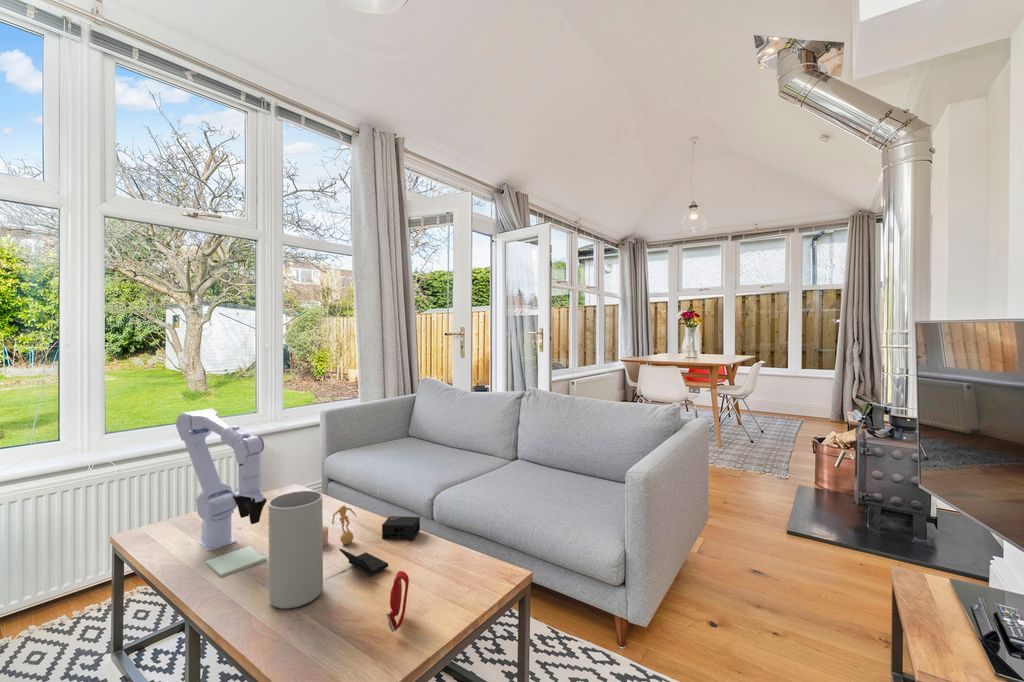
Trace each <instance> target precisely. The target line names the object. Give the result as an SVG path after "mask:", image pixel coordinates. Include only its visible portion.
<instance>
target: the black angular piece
mask: <svg viewBox="0 0 1024 682" xmlns="http://www.w3.org/2000/svg"><path fill="white" fill-rule="evenodd" d="M338 551H340V552H341V553H342V555H344V557H346V559H347V560H348V564H350V565H352V566H353V567H356V568H358V569H360V570H362V571H363V572H365V573H367V574H368V575H370V576H373V575H375V574H376V573H379V572H380V571H382V570H384V569H386V568H388V567H389V563H388V562H386V561H384V560H382V559H380V558H378V557H376V556H374V555H373V554H371V553H368V552H363V553H360V554H359V555H355V554H352V553H350V552H348V551H346V550H345V549H342V548H339V550H338Z"/></svg>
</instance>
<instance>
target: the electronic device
mask: <svg viewBox="0 0 1024 682" xmlns="http://www.w3.org/2000/svg"><path fill="white" fill-rule="evenodd" d="M420 520H421V517H420V516H399V515H398V516H394V515H390V516H388V517H387V518H386V519H385V521H384V522H383V523H382V525H381V535H382V536H381V539H382V540H404V541H405V540H406V541H414V540H415V539H416V538H417V536H418V535H419V534H420V533H419V532H421V521H420Z"/></svg>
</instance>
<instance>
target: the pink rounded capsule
mask: <svg viewBox="0 0 1024 682" xmlns="http://www.w3.org/2000/svg"><path fill="white" fill-rule="evenodd" d="M328 544H329V527H327V526H325V525H324V526H323V548H325V547H327V546H328Z"/></svg>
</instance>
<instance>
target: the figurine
mask: <svg viewBox="0 0 1024 682" xmlns="http://www.w3.org/2000/svg"><path fill="white" fill-rule="evenodd" d="M347 511H350V512H351V513H352V514H353V515H354V517H357V515H356V513H355V512H354V510H353V509H352V508H350V507H346V505H342V506H339V507H338V509H337V510H336V511H335V512H334V513H333V514H332V522H331V524H332V526H333V525H335V516H336V515H337V514H339V515H340V518H339V521H340V524H341V529H342V533H341V535H340V542H341V543H342V544H343V545H349V544H350V543H352V542H353V541H354V534H353V532H352V531H351V530H350V529H349V525H350V523H351V522H350V519H349V516H348V515H346V514H347ZM345 523H346V524H345ZM344 527H345V528H346V530H345V528H344Z"/></svg>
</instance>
